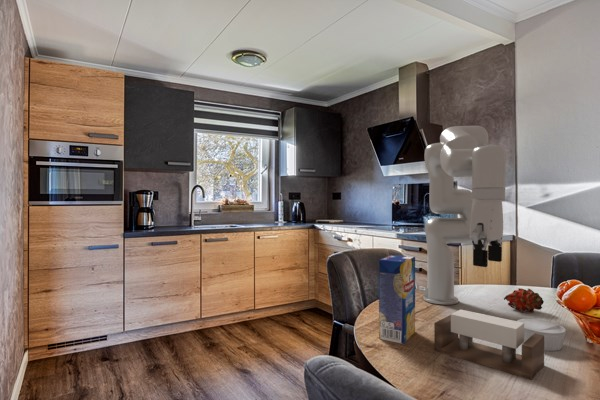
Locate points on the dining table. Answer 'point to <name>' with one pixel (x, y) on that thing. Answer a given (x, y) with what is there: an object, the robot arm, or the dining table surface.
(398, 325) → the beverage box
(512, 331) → the shelf board
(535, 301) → the dragon fruit
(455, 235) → the robot arm
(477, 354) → the peg frame
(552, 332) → the ramekin
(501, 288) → the dining table surface
